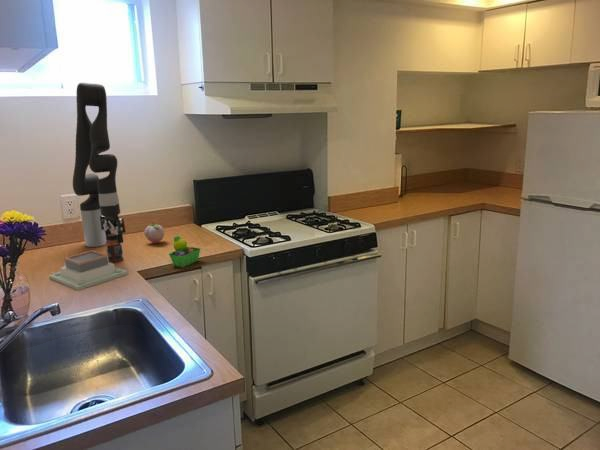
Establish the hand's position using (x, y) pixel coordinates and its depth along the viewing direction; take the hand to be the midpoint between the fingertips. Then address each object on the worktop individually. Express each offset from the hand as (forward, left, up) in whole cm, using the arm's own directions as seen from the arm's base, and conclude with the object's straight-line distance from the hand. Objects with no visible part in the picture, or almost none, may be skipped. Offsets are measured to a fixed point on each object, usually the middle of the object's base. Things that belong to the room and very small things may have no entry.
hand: (114, 241), depth 204 cm
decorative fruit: (-7, +25, -8) cm, 27 cm away
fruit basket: (+28, +14, -9) cm, 32 cm away
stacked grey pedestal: (+9, -17, -8) cm, 21 cm away
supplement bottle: (0, 0, -8) cm, 8 cm away
